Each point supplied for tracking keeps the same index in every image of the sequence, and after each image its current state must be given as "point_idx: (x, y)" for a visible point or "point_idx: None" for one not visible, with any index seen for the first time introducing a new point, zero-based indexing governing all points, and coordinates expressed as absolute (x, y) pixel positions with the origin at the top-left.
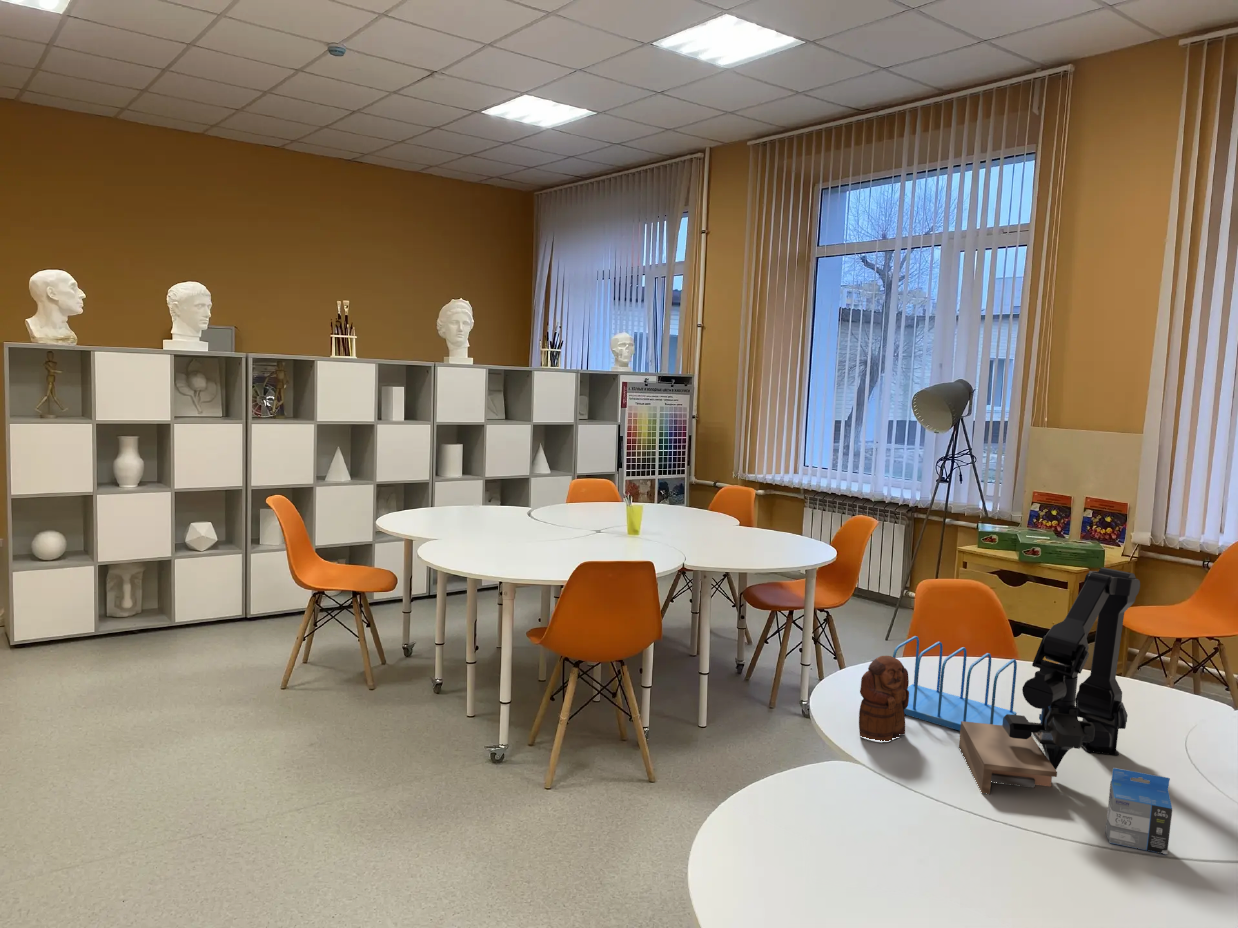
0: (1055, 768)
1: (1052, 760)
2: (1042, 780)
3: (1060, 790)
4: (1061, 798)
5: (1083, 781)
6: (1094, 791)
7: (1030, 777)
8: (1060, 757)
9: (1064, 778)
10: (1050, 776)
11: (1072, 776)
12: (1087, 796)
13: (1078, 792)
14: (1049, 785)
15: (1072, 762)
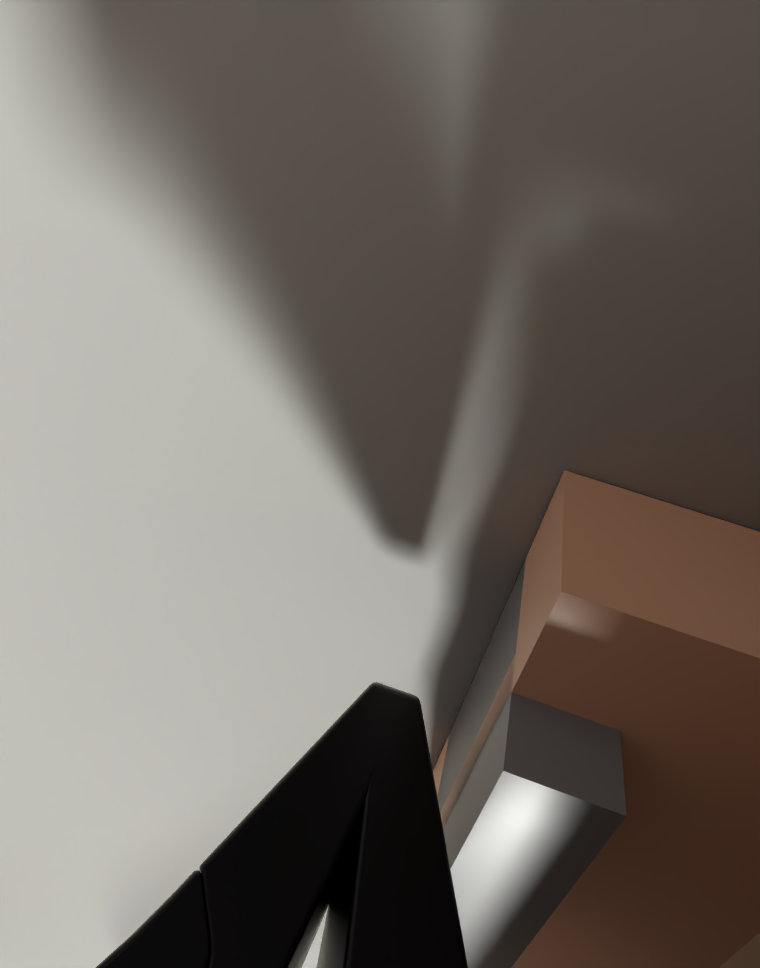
0: (358, 719)
1: (396, 871)
2: (708, 554)
3: (491, 347)
4: (694, 36)
5: (71, 526)
6: (16, 296)
7: None
8: (226, 904)
9: (251, 608)
10: (586, 569)
11: (146, 625)
12: (158, 140)
13: (241, 275)
14: (586, 480)
15: (58, 789)
